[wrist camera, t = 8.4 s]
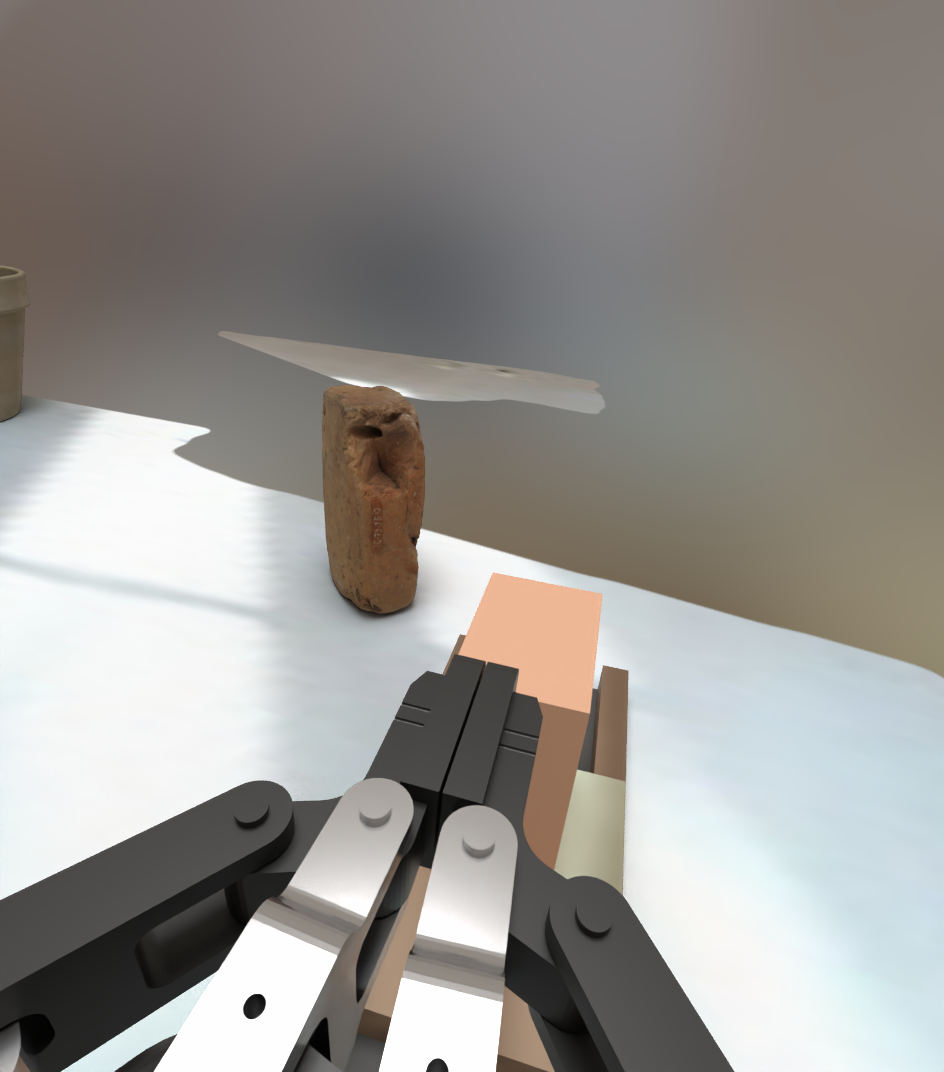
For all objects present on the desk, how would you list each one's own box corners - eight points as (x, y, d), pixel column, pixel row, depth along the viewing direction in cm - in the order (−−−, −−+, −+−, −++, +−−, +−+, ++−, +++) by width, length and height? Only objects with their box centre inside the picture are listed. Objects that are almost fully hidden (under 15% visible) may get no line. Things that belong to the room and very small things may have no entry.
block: (323, 569, 63) (312, 380, 53) (390, 556, 66) (391, 376, 57) (355, 628, 55) (348, 417, 45) (429, 610, 58) (438, 410, 48)
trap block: (433, 878, 32) (447, 680, 25) (474, 750, 40) (493, 572, 33) (544, 911, 31) (589, 713, 24) (564, 773, 38) (602, 594, 32)
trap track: (144, 1415, 19) (125, 1398, 18) (457, 661, 52) (460, 634, 50) (583, 1640, 16) (602, 1643, 15) (621, 698, 49) (628, 670, 48)
